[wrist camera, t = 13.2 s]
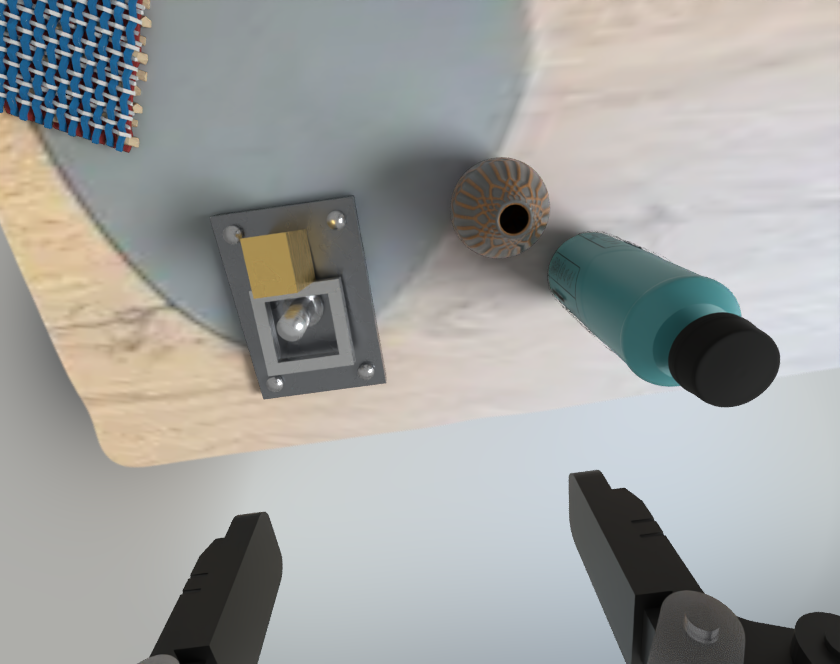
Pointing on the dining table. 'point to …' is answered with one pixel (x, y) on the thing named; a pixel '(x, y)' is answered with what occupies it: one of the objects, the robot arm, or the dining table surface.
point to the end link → (291, 278)
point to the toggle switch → (307, 316)
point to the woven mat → (74, 65)
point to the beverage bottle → (664, 319)
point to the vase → (500, 207)
